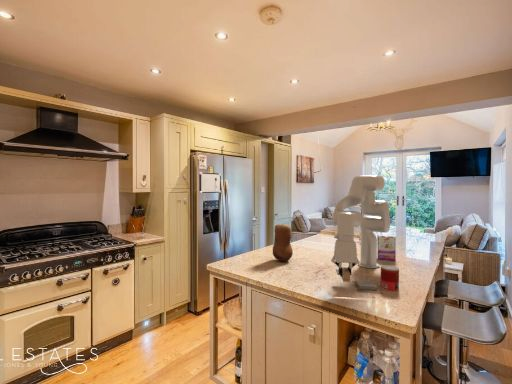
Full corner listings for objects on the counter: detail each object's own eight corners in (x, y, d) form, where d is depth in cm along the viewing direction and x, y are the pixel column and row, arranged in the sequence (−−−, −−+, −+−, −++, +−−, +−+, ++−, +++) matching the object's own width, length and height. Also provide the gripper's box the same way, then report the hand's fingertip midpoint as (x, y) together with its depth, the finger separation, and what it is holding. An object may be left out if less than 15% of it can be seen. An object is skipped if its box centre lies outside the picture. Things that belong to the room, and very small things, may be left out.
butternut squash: (295, 259, 184) (295, 223, 184) (289, 264, 172) (289, 225, 171) (276, 257, 190) (276, 222, 189) (269, 262, 178) (269, 224, 177)
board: (351, 282, 141) (351, 280, 141) (373, 283, 139) (373, 282, 139) (357, 293, 126) (357, 291, 126) (382, 295, 124) (382, 293, 124)
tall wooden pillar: (335, 270, 139) (336, 262, 138) (347, 270, 138) (348, 263, 137) (339, 281, 125) (340, 273, 125) (353, 282, 124) (353, 273, 124)
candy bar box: (394, 259, 187) (394, 235, 187) (395, 261, 182) (396, 237, 182) (376, 257, 190) (377, 234, 190) (377, 259, 186) (378, 236, 185)
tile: (355, 279, 138) (359, 285, 129) (372, 280, 137) (377, 286, 128) (355, 282, 138) (359, 289, 129) (372, 283, 137) (377, 290, 128)
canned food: (399, 293, 126) (400, 270, 126) (381, 291, 129) (381, 268, 129) (397, 287, 133) (398, 265, 133) (380, 285, 136) (380, 264, 136)
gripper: (328, 238, 126) (328, 277, 127) (365, 240, 124) (364, 279, 124) (327, 236, 134) (326, 272, 134) (361, 237, 131) (360, 274, 131)
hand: (344, 275), depth 129 cm, fingers closed on tall wooden pillar, 3 cm apart
